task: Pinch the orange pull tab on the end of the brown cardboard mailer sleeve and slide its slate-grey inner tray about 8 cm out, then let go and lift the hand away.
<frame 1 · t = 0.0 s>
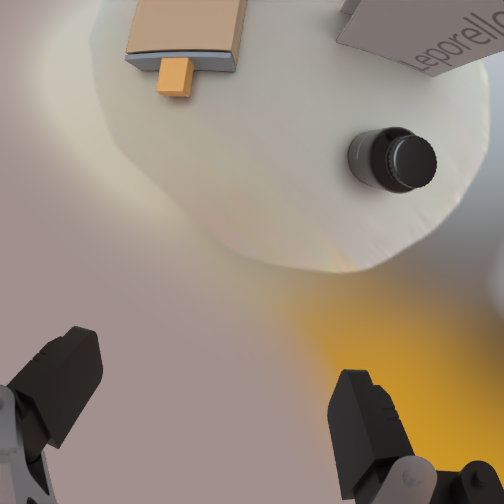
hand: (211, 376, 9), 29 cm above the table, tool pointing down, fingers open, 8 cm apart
supplement bottle: (371, 158, 34), on the table
grey standing panel: (388, 42, 29), on the table
mailer sleeve: (198, 12, 29), on the table
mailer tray: (189, 21, 27), point 3 cm above the table, slide at 0.0 cm
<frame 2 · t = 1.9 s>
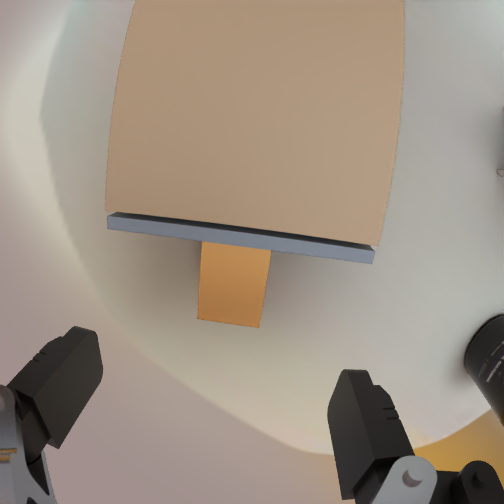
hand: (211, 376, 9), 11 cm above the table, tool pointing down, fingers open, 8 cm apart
supplement bottle: (488, 343, 21), on the table
mailer sleeve: (264, 72, 15), on the table
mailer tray: (256, 111, 13), point 3 cm above the table, slide at 0.0 cm
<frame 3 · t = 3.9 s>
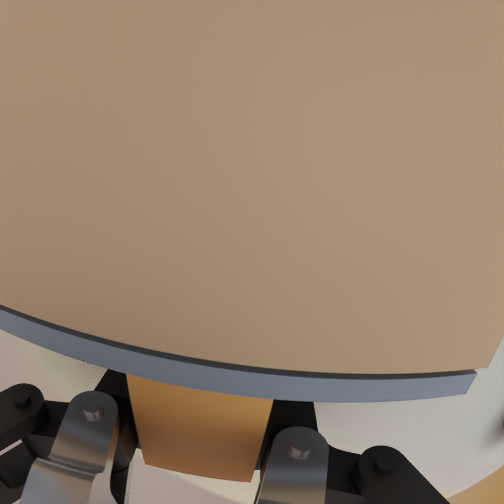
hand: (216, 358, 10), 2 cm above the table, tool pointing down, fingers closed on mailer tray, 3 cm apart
mailer sleeve: (260, 22, 8), on the table
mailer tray: (242, 72, 6), point 3 cm above the table, slide at 0.0 cm, touching gripper
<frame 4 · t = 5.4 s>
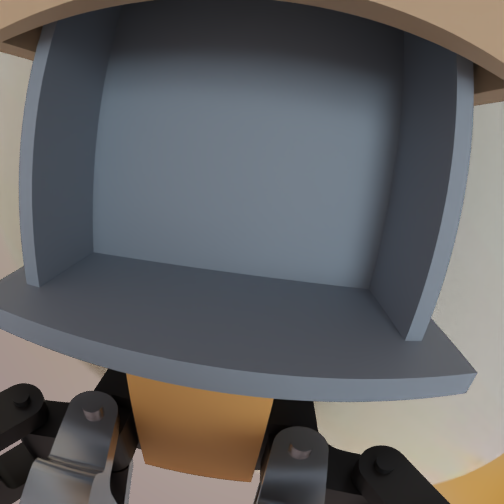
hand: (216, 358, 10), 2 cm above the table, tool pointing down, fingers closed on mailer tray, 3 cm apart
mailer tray: (243, 71, 6), point 3 cm above the table, slide at 5.8 cm, touching gripper
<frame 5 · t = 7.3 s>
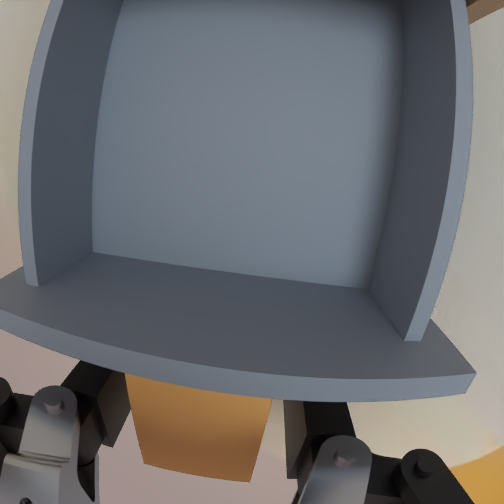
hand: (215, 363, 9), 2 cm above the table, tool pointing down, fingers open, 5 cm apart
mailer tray: (241, 71, 6), point 3 cm above the table, slide at 8.5 cm
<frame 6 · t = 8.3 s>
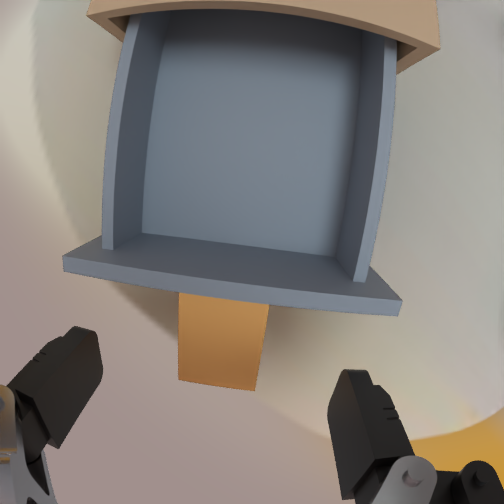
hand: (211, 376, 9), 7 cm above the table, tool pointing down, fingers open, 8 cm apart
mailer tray: (249, 117, 10), point 3 cm above the table, slide at 8.5 cm
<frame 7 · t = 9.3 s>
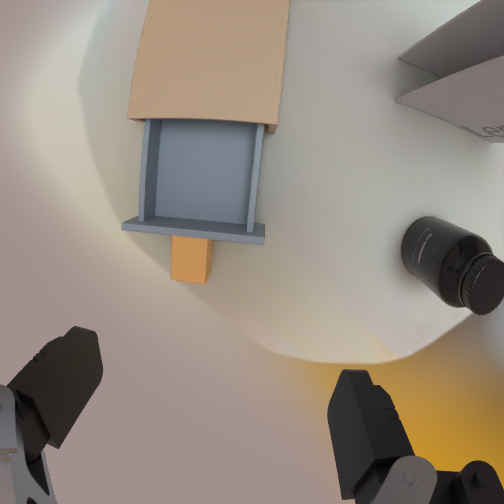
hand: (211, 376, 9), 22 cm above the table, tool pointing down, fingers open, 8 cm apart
supplement bottle: (425, 246, 29), on the table
grey standing panel: (449, 100, 25), on the table
mailer sleeve: (220, 52, 25), on the table
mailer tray: (201, 162, 25), point 3 cm above the table, slide at 8.5 cm
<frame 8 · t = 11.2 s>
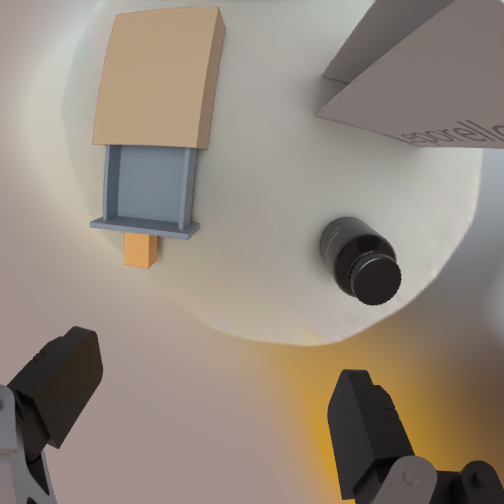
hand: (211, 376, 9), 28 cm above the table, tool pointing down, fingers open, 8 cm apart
supplement bottle: (345, 243, 36), on the table
grey standing panel: (374, 110, 31), on the table
mailer sleeve: (167, 83, 31), on the table
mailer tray: (147, 175, 32), point 3 cm above the table, slide at 8.5 cm
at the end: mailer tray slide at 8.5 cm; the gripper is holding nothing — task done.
